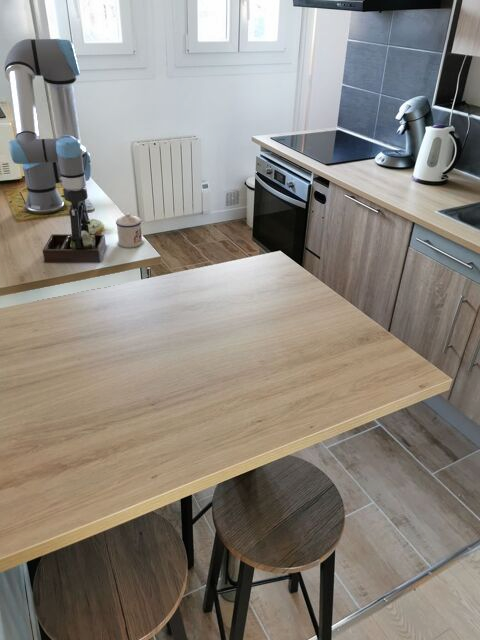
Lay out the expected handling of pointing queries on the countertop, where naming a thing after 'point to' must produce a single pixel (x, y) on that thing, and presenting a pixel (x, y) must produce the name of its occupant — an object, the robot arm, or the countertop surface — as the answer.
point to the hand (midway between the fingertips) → (83, 248)
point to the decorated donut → (95, 227)
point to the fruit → (85, 241)
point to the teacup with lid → (129, 231)
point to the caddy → (72, 250)
